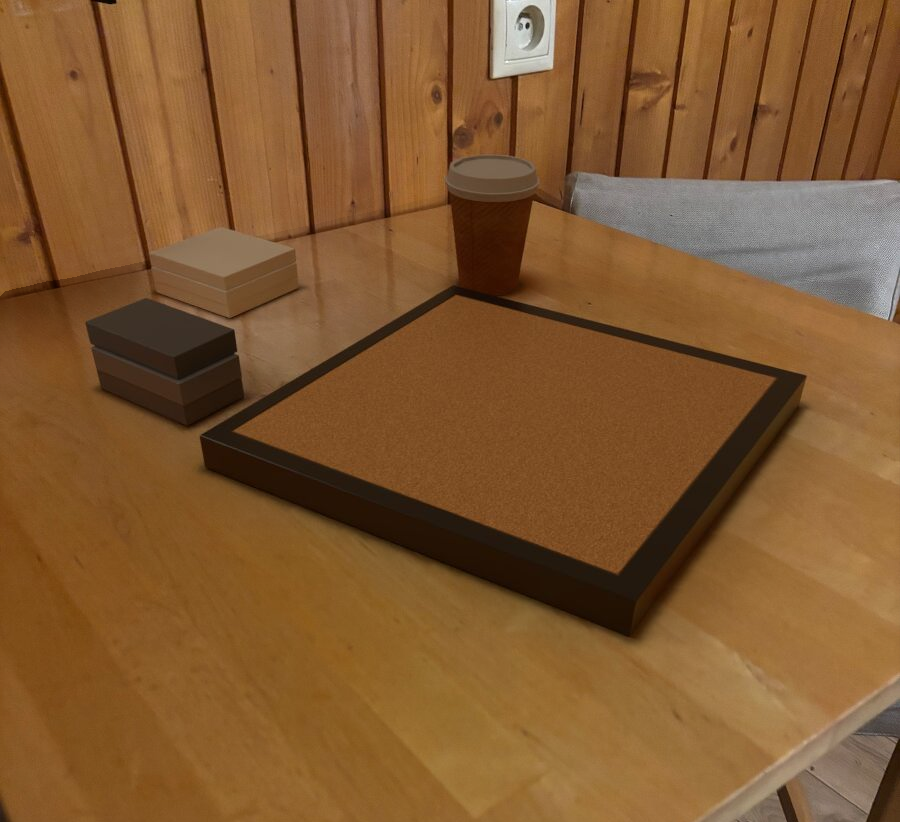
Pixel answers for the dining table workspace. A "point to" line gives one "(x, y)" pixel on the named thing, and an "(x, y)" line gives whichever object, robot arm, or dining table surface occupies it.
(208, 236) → the beige flat slab
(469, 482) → the cork board
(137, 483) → the dining table surface
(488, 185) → the disposable coffee cup
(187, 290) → the beige square block
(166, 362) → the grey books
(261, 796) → the dining table surface
